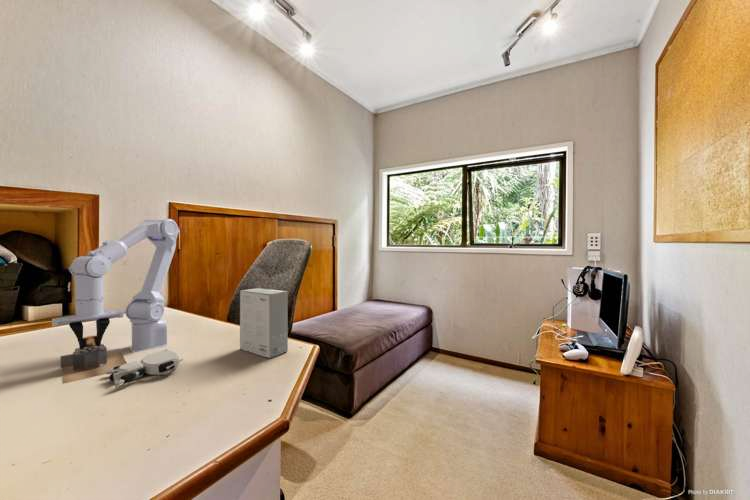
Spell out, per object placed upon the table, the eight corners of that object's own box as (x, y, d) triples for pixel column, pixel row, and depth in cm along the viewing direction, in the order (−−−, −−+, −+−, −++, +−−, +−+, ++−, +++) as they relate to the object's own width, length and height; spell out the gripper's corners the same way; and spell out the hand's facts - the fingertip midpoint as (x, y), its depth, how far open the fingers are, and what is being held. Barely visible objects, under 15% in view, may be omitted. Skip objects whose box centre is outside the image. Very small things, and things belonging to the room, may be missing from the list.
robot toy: (116, 397, 72) (186, 371, 84) (114, 378, 71) (185, 355, 83) (104, 382, 79) (170, 360, 91) (102, 365, 79) (169, 346, 91)
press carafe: (105, 359, 91) (105, 343, 91) (108, 365, 86) (107, 348, 86) (60, 367, 84) (60, 350, 84) (60, 375, 79) (60, 357, 79)
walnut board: (120, 353, 97) (120, 351, 97) (129, 370, 84) (129, 368, 84) (62, 364, 88) (62, 363, 88) (62, 385, 75) (62, 383, 75)
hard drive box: (288, 351, 100) (288, 291, 100) (269, 359, 93) (269, 294, 93) (258, 343, 108) (258, 287, 108) (238, 349, 102) (238, 289, 101)
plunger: (100, 358, 89) (100, 333, 89) (102, 362, 86) (102, 337, 86) (78, 362, 86) (77, 337, 86) (78, 367, 83) (78, 340, 82)
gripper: (120, 294, 94) (120, 338, 94) (51, 300, 83) (51, 350, 83) (124, 297, 89) (125, 343, 89) (52, 304, 78) (53, 356, 78)
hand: (90, 347), depth 86 cm, fingers closed on plunger, 3 cm apart
